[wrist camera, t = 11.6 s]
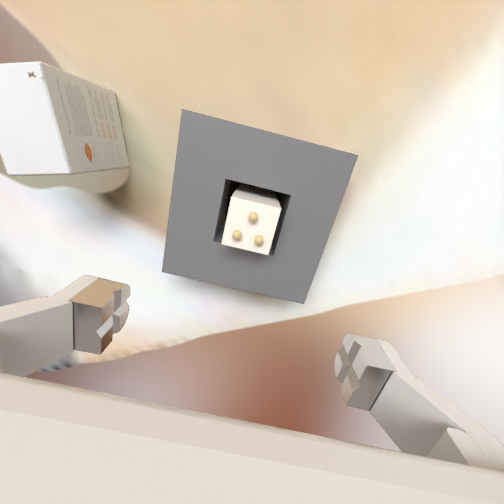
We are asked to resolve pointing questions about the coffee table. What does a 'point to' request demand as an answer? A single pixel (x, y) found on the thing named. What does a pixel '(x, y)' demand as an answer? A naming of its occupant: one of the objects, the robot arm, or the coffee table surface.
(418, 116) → the coffee table surface
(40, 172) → the small box
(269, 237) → the plug peg
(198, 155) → the socket block
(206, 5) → the coffee table surface
